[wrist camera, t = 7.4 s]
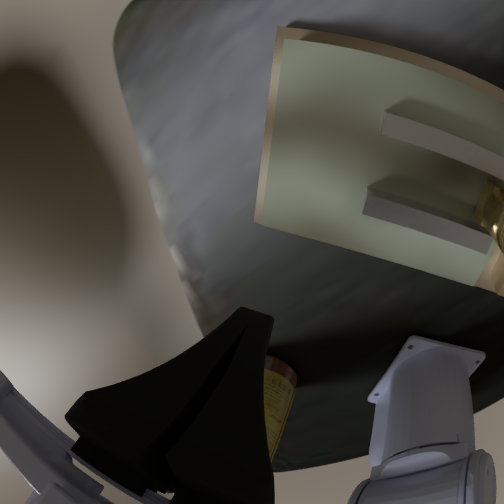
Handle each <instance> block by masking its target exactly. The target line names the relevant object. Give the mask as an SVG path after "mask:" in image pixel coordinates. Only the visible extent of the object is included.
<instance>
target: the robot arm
mask: <svg viewBox="0 0 504 504" xmlns="http://www.w3.org/2000/svg"><path fill="white" fill-rule="evenodd" d="M273 323H274V318H273V317H272V316H270V315H266V314H263V313H260V312H257V311H254V310H251V309H248V308H245V307H240V308H238V309H237V310H236V311H235V312H234V313H233V314H232V315H231V316H230V317H229V318H228V319H227V320H225V321H224V322H223V323H222V324H221V325H220V326H218V327H217V328H216V329H215V330H213V331H212V332H211V333H210V334H208V335H207V336H206V337H204V338H203V339H202V340H201V341H199V342H198V343H196V344H195V345H193V346H192V347H190V348H189V349H187V350H186V351H184V352H183V353H181V354H180V355H178V356H176V357H175V358H173V359H171V360H170V361H168V362H166V363H164V364H162V365H160V366H158V367H156V368H154V369H152V370H150V371H148V372H145V373H143V374H141V375H139V376H136V377H133V378H130V379H128V380H125V381H122V382H120V383H117V384H114V385H110V386H106V387H102V388H99V389H95V390H91V391H86V392H85V393H84V394H83V395H82V396H81V397H80V398H79V399H78V400H77V401H76V402H75V403H74V405H73V406H72V407H71V408H70V410H69V411H68V412H67V413H66V415H65V419H66V421H67V422H68V423H69V425H70V426H71V427H72V428H73V429H74V430H75V431H76V432H77V433H78V434H79V435H80V437H79V438H78V440H77V441H76V442H75V441H74V440H72V439H71V438H70V437H68V436H67V435H66V434H64V433H63V432H62V431H61V430H59V429H58V428H57V427H56V426H55V425H54V424H53V423H51V422H50V421H49V420H48V419H47V418H46V417H44V416H43V415H42V414H41V413H40V412H39V411H38V410H37V409H36V408H35V407H33V406H32V405H31V404H30V403H29V402H28V401H27V400H26V399H25V398H24V397H23V396H22V395H21V394H20V393H19V392H18V391H17V390H16V389H15V388H14V387H13V385H12V383H11V382H10V381H9V380H8V378H7V377H6V376H5V375H4V374H3V373H2V372H1V371H0V448H1V449H2V451H3V452H4V454H5V455H6V456H7V457H8V459H9V460H10V461H11V463H12V464H13V465H14V466H15V468H16V469H17V470H18V471H19V472H20V474H21V475H22V476H23V477H24V478H25V480H26V481H27V482H28V483H29V484H30V485H31V486H32V487H33V488H34V491H33V493H32V494H31V495H30V497H29V498H28V500H27V501H26V502H25V504H114V503H113V502H111V501H109V500H108V499H106V498H105V497H103V496H102V495H100V493H101V492H102V490H103V489H104V486H103V485H101V484H100V483H98V482H97V481H95V480H94V479H92V478H91V477H90V476H88V475H87V474H86V473H84V472H83V471H81V470H80V469H79V468H77V467H76V466H75V465H74V464H73V462H72V457H73V458H74V459H76V460H77V461H78V462H80V463H81V464H82V465H84V466H85V467H87V468H88V469H89V470H91V471H92V472H93V473H95V474H96V475H98V476H99V477H101V478H102V479H104V480H105V481H107V482H108V483H110V484H111V485H113V486H114V487H116V488H118V489H119V490H121V491H122V492H124V493H126V494H127V495H129V496H131V497H133V498H134V499H136V500H138V501H140V502H141V503H143V504H274V503H275V492H274V475H273V470H272V465H271V460H270V454H269V448H268V441H267V432H266V423H265V411H264V365H265V355H266V352H267V349H268V345H269V341H270V336H271V332H272V327H273ZM409 345H412V346H409ZM485 357H486V356H485V353H484V352H482V351H478V350H473V349H469V348H465V347H461V346H456V345H452V344H448V343H444V342H440V341H436V340H432V339H428V338H424V337H420V336H415V335H413V336H410V337H409V338H408V339H407V341H406V342H405V344H404V346H403V347H402V349H401V350H400V352H399V353H398V355H397V356H396V358H395V359H394V361H393V362H392V364H391V365H390V367H389V368H388V370H387V371H386V372H385V374H384V375H383V377H382V378H381V380H380V381H379V382H378V384H377V385H376V386H375V388H374V389H373V390H372V392H371V393H370V394H369V396H368V401H369V402H372V403H376V409H375V417H374V424H373V431H372V437H371V444H370V449H369V459H370V463H371V466H372V470H371V475H370V478H369V479H366V480H364V481H362V482H361V483H360V484H359V485H358V486H357V487H356V489H355V490H354V492H353V493H352V495H351V497H350V499H349V501H348V503H347V504H495V503H496V475H495V467H494V462H493V459H492V456H491V455H490V454H489V453H487V452H485V451H484V450H483V449H479V450H477V451H476V450H475V436H474V435H475V433H474V418H473V407H472V398H471V390H470V382H469V377H470V376H471V375H472V373H473V372H474V371H475V370H476V369H477V368H478V366H479V365H480V364H481V363H482V362H483V360H484V359H485ZM71 456H72V457H71ZM157 491H160V492H161V493H164V494H165V493H166V492H167V493H173V492H174V493H175V494H174V496H173V498H172V499H171V500H169V499H167V498H165V497H163V496H161V495H159V494H157Z"/></svg>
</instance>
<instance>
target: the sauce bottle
mask: <svg viewBox="0 0 504 504" xmlns="http://www.w3.org/2000/svg"><path fill="white" fill-rule="evenodd" d="M296 382H297V375H296V373H295V372H294V370H293V369H292V368H291V367H290V366H289V365H288V364H287V363H286V362H284V361H282V360H280V359H278V358H276V357H274V356H269V355H265V365H264V411H265V423H266V432H267V441H268V448H269V454H270V460H271V462H272V459H273V457H274V454H275V451H276V448H277V446H278V443H279V440H280V437H281V434H282V431H283V428H284V425H285V422H286V419H287V416H288V413H289V410H290V407H291V404H292V401H293V398H294V394H295V390H294V389H295V386H296Z"/></svg>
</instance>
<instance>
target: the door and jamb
mask: <svg viewBox="0 0 504 504" xmlns="http://www.w3.org/2000/svg"><path fill="white" fill-rule="evenodd" d="M384 111H386V112H390V113H393V114H396V115H400V116H403V117H406V118H409V119H412V120H415V121H418V122H421V123H424V124H427V125H430V126H433V127H436V128H438V129H441V130H444V131H446V132H449V133H451V134H454V135H456V136H459V137H461V138H464V139H466V140H468V141H471V142H473V143H475V144H478V145H480V146H482V147H484V148H487V149H489V150H491V151H493V152H495V153H497V154H499V155H501V156H503V157H504V90H502V89H500V88H499V87H497V86H495V85H493V84H491V83H489V82H487V81H485V80H482V79H480V78H478V77H476V76H474V75H472V74H469V73H467V72H465V71H462V70H460V69H458V68H455V67H453V66H450V65H448V64H445V63H443V62H440V61H437V60H434V59H432V58H429V57H426V56H423V55H420V54H417V53H414V52H411V51H407V50H404V49H401V48H397V47H394V46H390V45H386V44H382V43H378V42H374V41H370V40H366V39H361V38H356V37H351V36H346V35H341V34H335V33H329V32H323V31H316V30H308V29H299V28H289V27H277V31H276V40H275V48H274V57H273V65H272V73H271V82H270V90H269V99H268V107H267V116H266V124H265V132H264V141H263V149H262V158H261V166H260V175H259V183H258V192H257V200H256V209H255V218H254V222H256V223H260V224H261V225H262V226H266V227H270V228H274V229H278V230H281V231H285V232H289V233H293V234H296V235H300V236H304V237H307V238H311V239H315V240H318V241H322V242H326V243H329V244H333V245H336V246H340V247H343V248H347V249H351V250H354V251H358V252H361V253H365V254H368V255H372V256H375V257H378V258H382V259H385V260H389V261H392V262H395V263H399V264H402V265H406V266H409V267H412V268H415V269H419V270H422V271H425V272H429V273H432V274H435V275H438V276H442V277H445V278H448V279H451V280H454V281H458V282H461V283H464V284H467V285H470V286H473V287H474V286H478V287H481V288H484V289H487V290H490V291H493V292H496V293H497V294H498V295H501V296H504V254H503V253H502V251H501V250H500V248H499V247H498V245H497V244H496V242H495V241H494V239H493V241H492V243H491V246H490V248H489V250H488V252H487V254H483V253H480V252H478V251H475V250H472V249H469V248H466V247H464V246H461V245H458V244H455V243H452V242H449V241H446V240H443V239H441V238H438V237H435V236H432V235H428V234H425V233H422V232H419V231H416V230H413V229H410V228H407V227H403V226H400V225H397V224H394V223H390V222H387V221H384V220H380V219H377V218H373V217H370V216H367V215H363V214H362V204H363V200H364V197H365V193H366V189H367V186H368V187H371V188H375V189H378V190H381V191H385V192H388V193H391V194H395V195H398V196H401V197H404V198H407V199H411V200H414V201H417V202H420V203H423V204H426V205H429V206H432V207H435V208H437V209H440V210H443V211H446V212H449V213H451V214H454V215H457V216H460V217H462V218H465V219H468V220H470V221H473V222H475V223H478V221H477V220H476V219H475V217H474V216H473V215H474V212H475V209H476V207H477V204H478V201H479V198H480V195H481V192H482V189H483V186H484V183H485V180H486V179H488V180H490V181H492V182H494V183H497V184H499V185H501V186H503V187H504V180H502V179H499V178H497V177H495V176H493V175H491V174H489V173H486V172H484V171H482V170H480V169H477V168H475V167H473V166H470V165H468V164H465V163H463V162H461V161H458V160H456V159H453V158H450V157H448V156H445V155H442V154H440V153H437V152H434V151H431V150H429V149H426V148H423V147H420V146H417V145H414V144H411V143H408V142H405V141H402V140H398V139H395V138H392V137H388V136H385V135H382V134H381V132H380V129H381V124H382V119H383V114H384ZM478 224H479V223H478Z"/></svg>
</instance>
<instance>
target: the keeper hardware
mask: <svg viewBox="0 0 504 504" xmlns="http://www.w3.org/2000/svg"><path fill="white" fill-rule="evenodd" d="M380 132H381V134H382V135H385V136H388V137H392V138H395V139H398V140H402V141H405V142H408V143H411V144H414V145H417V146H420V147H423V148H426V149H429V150H431V151H434V152H437V153H440V154H442V155H445V156H448V157H450V158H453V159H456V160H458V161H461V162H463V163H465V164H468V165H470V166H473V167H475V168H477V169H480V170H482V171H484V172H486V173H489V174H491V175H493V176H495V177H497V178H499V179H502V180H504V157H503V156H501V155H499V154H497V153H495V152H493V151H491V150H489V149H487V148H484V147H482V146H480V145H478V144H475V143H473V142H471V141H468V140H466V139H464V138H461V137H459V136H456V135H454V134H451V133H449V132H446V131H444V130H441V129H438V128H436V127H433V126H430V125H427V124H424V123H421V122H418V121H415V120H412V119H409V118H406V117H403V116H400V115H396V114H393V113H390V112H386V111H384V114H383V119H382V124H381V129H380ZM362 214H363V215H367V216H370V217H373V218H377V219H380V220H384V221H387V222H390V223H394V224H397V225H400V226H403V227H407V228H410V229H413V230H416V231H419V232H422V233H425V234H428V235H432V236H435V237H438V238H441V239H443V240H446V241H449V242H452V243H455V244H458V245H461V246H464V247H466V248H469V249H472V250H475V251H478V252H480V253H483V254H487V252H488V250H489V248H490V246H491V243H492V241H493V238H492V236H491V235H490V233H489V232H488V230H487V229H486V228H485V227H483V226H480V224H478V223H475V222H473V221H470V220H468V219H465V218H462V217H460V216H457V215H454V214H451V213H449V212H446V211H443V210H440V209H437V208H435V207H432V206H429V205H426V204H423V203H420V202H417V201H414V200H411V199H407V198H404V197H401V196H398V195H395V194H391V193H388V192H385V191H381V190H378V189H375V188H371V187H368V186H367V189H366V193H365V197H364V200H363V204H362Z"/></svg>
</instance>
